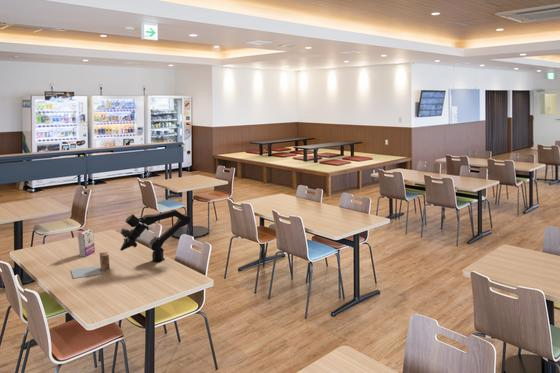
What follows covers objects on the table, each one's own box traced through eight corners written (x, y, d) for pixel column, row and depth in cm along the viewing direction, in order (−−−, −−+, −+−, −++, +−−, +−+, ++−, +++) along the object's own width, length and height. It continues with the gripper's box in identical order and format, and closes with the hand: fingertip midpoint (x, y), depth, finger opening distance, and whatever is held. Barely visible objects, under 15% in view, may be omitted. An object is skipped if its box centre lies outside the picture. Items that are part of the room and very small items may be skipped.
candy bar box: (88, 251, 343) (86, 229, 340) (95, 251, 342) (93, 229, 339) (79, 256, 332) (77, 233, 329) (85, 257, 331) (83, 233, 328)
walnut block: (108, 266, 312) (106, 252, 310) (109, 270, 305) (108, 255, 304) (100, 268, 309) (99, 253, 308) (102, 271, 303) (101, 256, 302)
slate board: (97, 266, 313) (97, 265, 313) (101, 273, 299) (101, 273, 299) (71, 270, 305) (70, 269, 305) (73, 278, 292) (73, 278, 291)
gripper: (125, 220, 318) (108, 239, 315) (130, 227, 302) (113, 246, 298) (137, 230, 323) (121, 249, 320) (144, 237, 307) (127, 257, 303)
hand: (120, 250), depth 310 cm, fingers closed
